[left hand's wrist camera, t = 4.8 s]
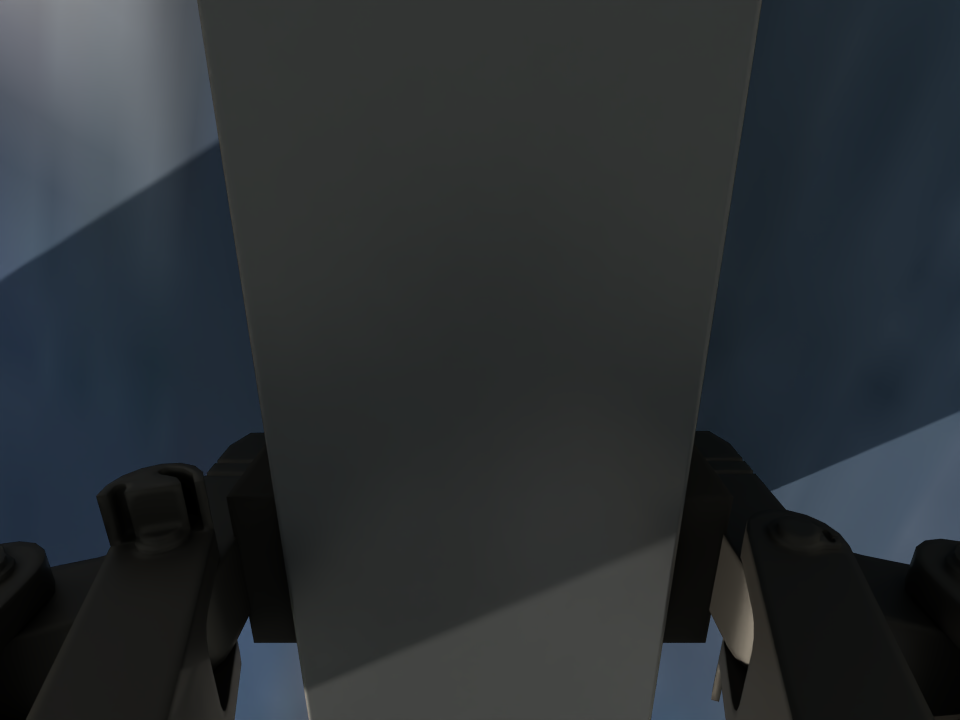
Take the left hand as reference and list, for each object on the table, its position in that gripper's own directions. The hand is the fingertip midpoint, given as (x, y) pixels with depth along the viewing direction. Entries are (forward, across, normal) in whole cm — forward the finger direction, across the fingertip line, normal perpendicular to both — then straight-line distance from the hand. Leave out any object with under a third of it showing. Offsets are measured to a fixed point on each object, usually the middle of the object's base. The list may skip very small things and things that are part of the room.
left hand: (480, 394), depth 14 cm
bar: (+1, 0, -28) cm, 29 cm away
